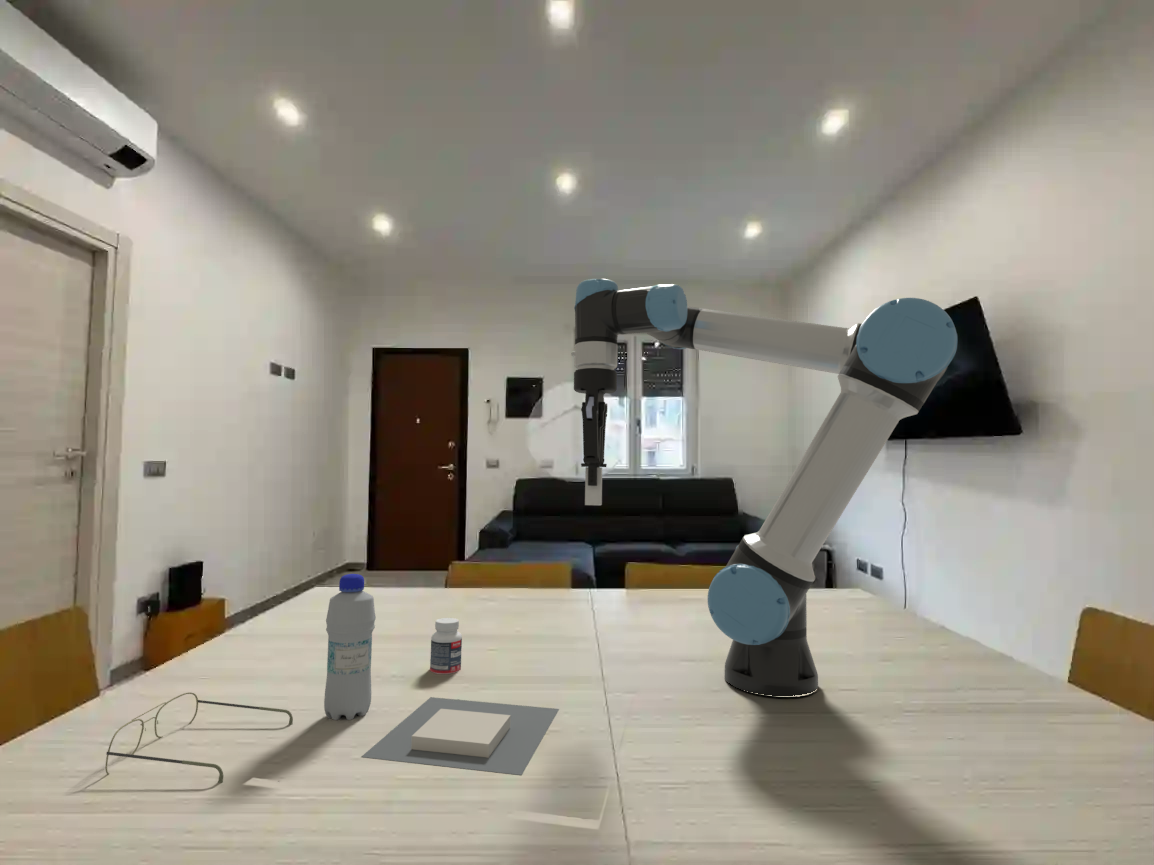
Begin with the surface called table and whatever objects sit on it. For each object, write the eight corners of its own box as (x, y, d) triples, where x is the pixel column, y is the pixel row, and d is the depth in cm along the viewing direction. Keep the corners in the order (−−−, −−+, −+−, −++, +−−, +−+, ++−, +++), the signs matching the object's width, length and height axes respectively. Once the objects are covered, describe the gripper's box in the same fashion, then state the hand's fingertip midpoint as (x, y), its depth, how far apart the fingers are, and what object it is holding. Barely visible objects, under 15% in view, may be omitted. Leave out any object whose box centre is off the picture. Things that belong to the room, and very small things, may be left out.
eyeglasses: (186, 724, 86) (188, 686, 86) (292, 727, 85) (294, 690, 86) (92, 782, 70) (95, 736, 70) (222, 786, 69) (224, 740, 70)
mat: (559, 713, 91) (559, 708, 91) (521, 780, 71) (521, 774, 71) (430, 701, 94) (430, 697, 94) (360, 761, 75) (361, 756, 75)
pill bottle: (453, 678, 105) (455, 625, 105) (424, 676, 106) (426, 623, 106) (465, 668, 110) (466, 617, 110) (437, 666, 111) (439, 615, 111)
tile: (510, 715, 84) (488, 744, 75) (510, 727, 84) (488, 758, 75) (440, 708, 86) (411, 736, 77) (440, 720, 86) (411, 749, 77)
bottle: (324, 729, 84) (330, 579, 85) (319, 711, 90) (325, 571, 91) (376, 720, 87) (381, 576, 88) (368, 704, 93) (373, 568, 94)
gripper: (581, 375, 116) (578, 502, 115) (566, 363, 103) (564, 506, 102) (621, 375, 115) (619, 503, 113) (611, 363, 102) (609, 507, 101)
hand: (593, 504), depth 108 cm, fingers closed
